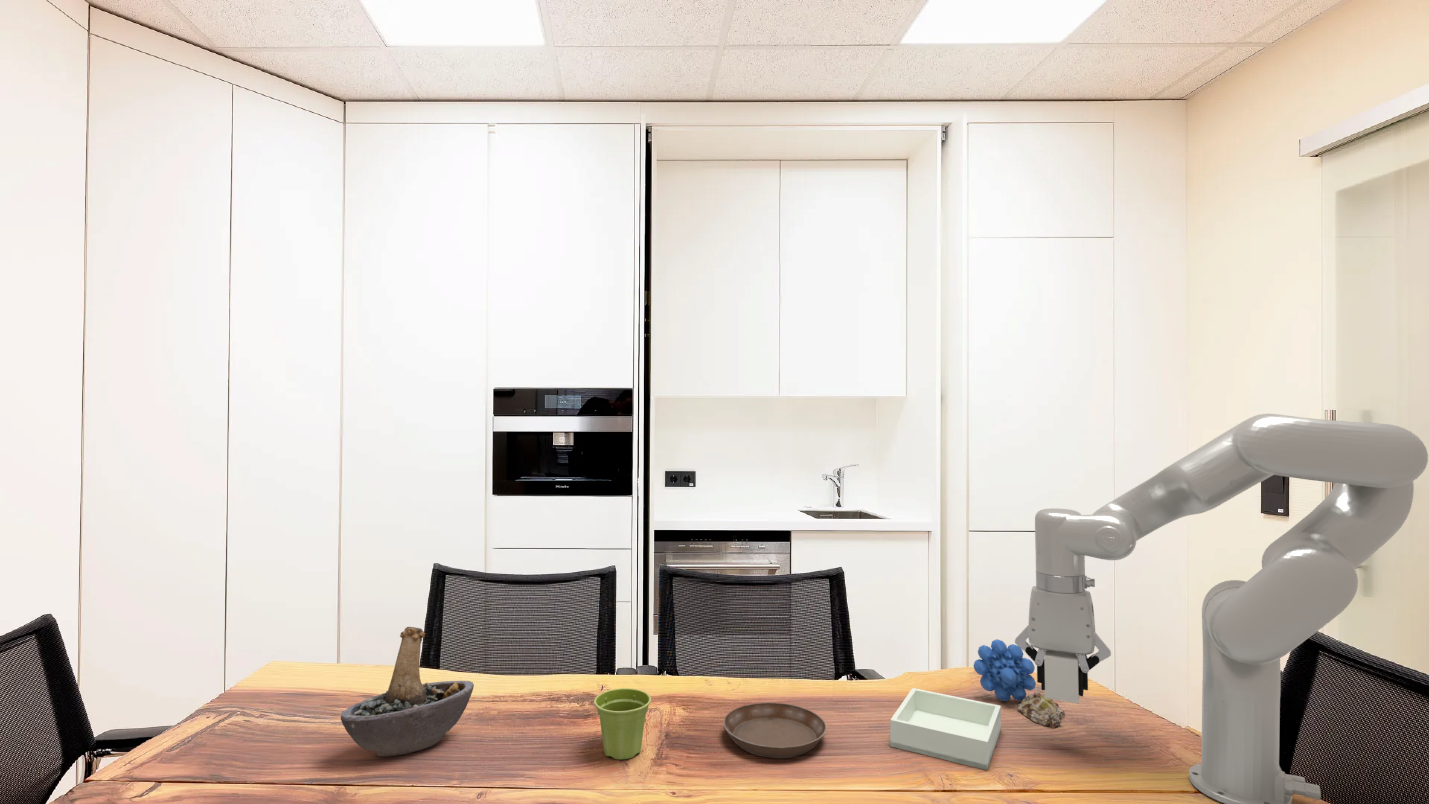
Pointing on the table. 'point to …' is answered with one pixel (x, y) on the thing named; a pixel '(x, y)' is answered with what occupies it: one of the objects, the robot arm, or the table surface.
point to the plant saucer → (774, 729)
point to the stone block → (1061, 676)
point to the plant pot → (622, 721)
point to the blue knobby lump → (1005, 670)
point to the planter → (407, 707)
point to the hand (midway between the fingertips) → (1062, 689)
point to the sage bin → (946, 727)
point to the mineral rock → (1041, 710)
